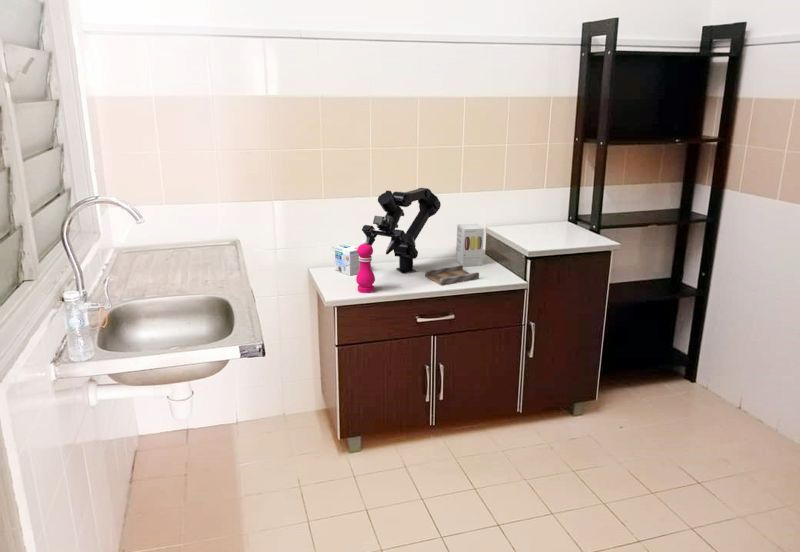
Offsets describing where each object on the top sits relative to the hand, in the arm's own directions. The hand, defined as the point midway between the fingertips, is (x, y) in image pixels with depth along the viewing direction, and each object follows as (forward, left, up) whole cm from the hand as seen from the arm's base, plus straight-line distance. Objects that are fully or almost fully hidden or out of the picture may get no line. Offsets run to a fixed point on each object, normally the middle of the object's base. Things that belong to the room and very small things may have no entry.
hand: (376, 252), depth 242 cm
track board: (+6, +31, -13) cm, 35 cm away
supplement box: (-8, +49, -14) cm, 52 cm away
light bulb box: (-21, -3, -14) cm, 25 cm away
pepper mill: (+4, -7, -14) cm, 16 cm away
